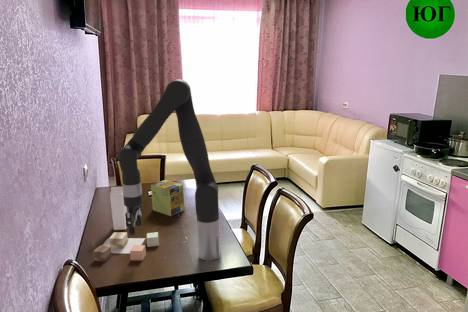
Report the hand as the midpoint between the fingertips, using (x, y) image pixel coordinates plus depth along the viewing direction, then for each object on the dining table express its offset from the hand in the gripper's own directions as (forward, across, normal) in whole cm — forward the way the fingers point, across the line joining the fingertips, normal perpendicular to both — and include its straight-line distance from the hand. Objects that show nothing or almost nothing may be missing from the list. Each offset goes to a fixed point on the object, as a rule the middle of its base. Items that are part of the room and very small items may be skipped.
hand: (135, 229), depth 153 cm
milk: (+14, +29, +18) cm, 37 cm away
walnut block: (+14, -1, +15) cm, 20 cm away
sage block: (+13, +12, -3) cm, 18 cm away
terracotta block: (+13, 0, 0) cm, 13 cm away
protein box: (+14, +52, -1) cm, 54 cm away
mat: (+13, +10, +11) cm, 20 cm away
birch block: (+13, +10, +12) cm, 20 cm away
